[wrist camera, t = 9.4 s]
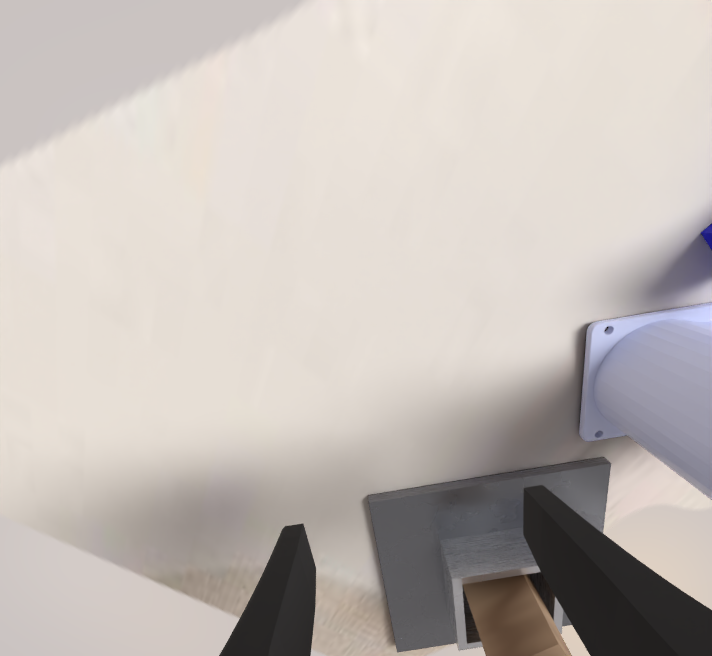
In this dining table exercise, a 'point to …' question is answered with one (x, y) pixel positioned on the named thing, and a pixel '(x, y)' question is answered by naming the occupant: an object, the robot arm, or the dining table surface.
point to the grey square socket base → (469, 545)
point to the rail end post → (513, 618)
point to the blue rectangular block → (708, 235)
